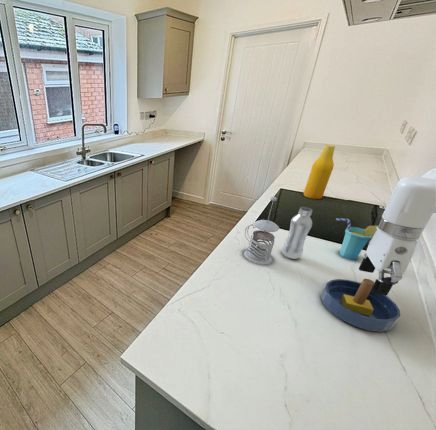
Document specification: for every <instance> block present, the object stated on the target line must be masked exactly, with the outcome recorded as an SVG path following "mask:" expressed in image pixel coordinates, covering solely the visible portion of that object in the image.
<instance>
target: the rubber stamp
mask: <svg viewBox="0 0 436 430" xmlns="http://www.w3.org/2000/svg"><path fill="white" fill-rule="evenodd" d="M360 283H361V285H360V287H359V289H358V291H357V292H356V294H355V296H354V297H353V296H349V295H345V294H343V296H342V298H341V303H342V305H343V306H344V307H346V308H348V309H350V310H351V311H353V312H356V313H360V314H364V315H368V316H371V314H372V312H373V310H374V309H373V307H372V305H371V303H370V301H369V300H366V299H367V297H368V295H369V293H370V291H371V288H372V286H373V285H374V283H375V281H374V280H372V279H370V278H363V279H362V281H361V282H360Z"/></svg>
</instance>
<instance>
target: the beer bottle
mask: <svg viewBox="0 0 436 430" xmlns="http://www.w3.org/2000/svg"><path fill="white" fill-rule="evenodd" d="M335 149H336V146H335V145H333V144H325V145H324V147H323V149H322V151H321V153H320V155H319V157H318V158H317V159H316V160H314V162H313V164H312V166H311V169H310V172H309V176H308V179H307V181H306V184H305V186H304V190H303V196H304V197H305V198H309V199H311V200H320V199H322V198H323V197H324V194H325V192H326V188H327V185H328V183H329V180H330V178H331V175H332V173H333V169H334V165H335V164H334V153H335Z"/></svg>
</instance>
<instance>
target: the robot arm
mask: <svg viewBox="0 0 436 430" xmlns="http://www.w3.org/2000/svg"><path fill="white" fill-rule="evenodd" d="M433 214H436V167H434V168H432V169H430V170H429V171H427V172H426V173H424V174H423V175H421V176H406V177H402V178H401V179H400V180H399V181H398V182H397V183H396V185H395V187H394V189H393V191H392V193H391V196H390V197H389V200H388V202H387V204H386V207H385V208H384V211H383V213H382V214H381V216H380V219H379V222H378V223H377V225H376V226H377V231H376V232H375V234H374V236H373V238H372V239H370V240H368V245H367V247H366V248H365V250H366V251H365V253H364V254H363V258H362V260H361V262H360V264H359V267H358V270H359V271H361V272H365V273H371V274H372V273H374V272H375V270H376V271H378V278H377V279H375V281H374V285H373V286H372V288H371V292H372V293H376V294H381V295H386V296H388V294H389V293H390V292H391V290H392V288H393V286H395V285H396V284H398V283H399V281H401V280H402V279H403V275H404V274H405V272H406V271H407V268H408V266H409V265H410V263H411V260H412V258H413V256H414V254H415V250H416V247H417V242H418V241H417V240H419V239H420V237H421V235H422V234H423V232H424V230H425V228H426V227H427V224H428V223H429V221H430V219H431V218H432V216H433ZM385 274H387V275H389V276H386V277H385Z"/></svg>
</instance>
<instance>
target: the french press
mask: <svg viewBox="0 0 436 430" xmlns="http://www.w3.org/2000/svg"><path fill="white" fill-rule="evenodd" d="M277 200H278V198H277V197H276V196H271V197H270V201H272V204H271V207H270V209H269V213H268V217H267V219H259V220H255V221H254V222H253V223H251V224H249V225H248V226H246V228H245V229H244V233H246V232H247V235H246V234H244V237H245V239H246V241H248V248H247V250H245V251H244V252H243V256H244V257H245V259H247V260H248V261H250V262H252V263H254V264H258V265H269V264H271V263H272V262H273V257H272V256H271V255H272V251H273V248H274V244H275V238H276V237H275V235H274V234H273V233H275V232H278V231H279V230H280V226H279V225H278V224H276V223H275V222H274V221H272V220H269V219H270V216H271V212H272V209H273V205H274V202H276V201H277ZM251 226H252V228H253V229H256V228H257V229H258V230H254V231H253V232H252V235H251V236H249V229H250V227H251ZM248 238H249V239H250V240H249V239H248Z"/></svg>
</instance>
